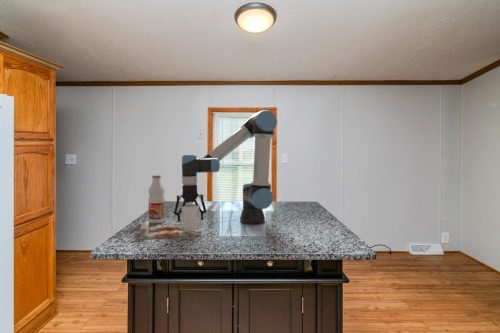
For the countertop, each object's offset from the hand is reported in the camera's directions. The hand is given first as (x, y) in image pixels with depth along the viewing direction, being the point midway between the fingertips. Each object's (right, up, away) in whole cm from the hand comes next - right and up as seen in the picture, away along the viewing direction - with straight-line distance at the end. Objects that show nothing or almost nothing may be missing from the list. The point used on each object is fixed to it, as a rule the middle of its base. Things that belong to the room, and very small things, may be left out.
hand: (190, 227), depth 155 cm
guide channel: (-9, -3, -2) cm, 10 cm away
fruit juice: (-25, -2, +24) cm, 34 cm away
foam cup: (0, -2, 0) cm, 2 cm away
